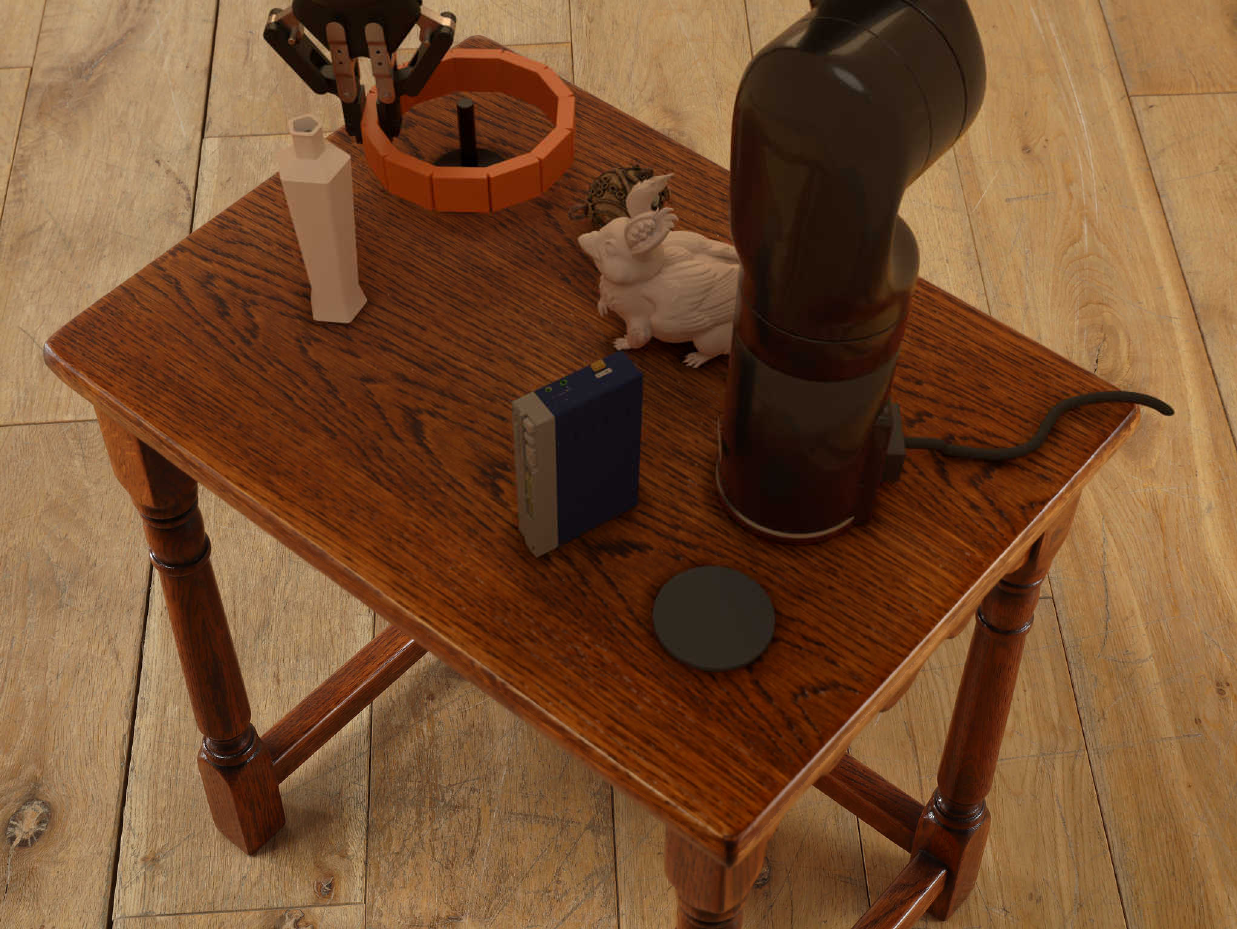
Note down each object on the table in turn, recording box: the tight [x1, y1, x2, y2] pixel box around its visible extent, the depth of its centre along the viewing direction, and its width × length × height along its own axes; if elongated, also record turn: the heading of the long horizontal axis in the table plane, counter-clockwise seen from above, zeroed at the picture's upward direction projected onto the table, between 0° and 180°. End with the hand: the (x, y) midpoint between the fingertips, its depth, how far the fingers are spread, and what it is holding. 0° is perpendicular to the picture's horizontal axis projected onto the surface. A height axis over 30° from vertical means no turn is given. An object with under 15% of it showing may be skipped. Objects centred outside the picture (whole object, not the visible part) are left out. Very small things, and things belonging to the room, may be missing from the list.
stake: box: [432, 97, 507, 168], centre depth 106 cm, size 6×6×7 cm
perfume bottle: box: [276, 113, 368, 324], centre depth 95 cm, size 5×4×15 cm
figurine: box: [577, 172, 740, 369], centre depth 94 cm, size 8×15×13 cm, turn 95°
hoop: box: [361, 48, 577, 213], centre depth 105 cm, size 15×15×3 cm
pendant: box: [567, 162, 672, 231], centre depth 104 cm, size 5×8×5 cm, turn 112°
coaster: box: [652, 565, 776, 673], centre depth 85 cm, size 7×7×1 cm
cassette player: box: [510, 349, 644, 559], centre depth 85 cm, size 7×2×12 cm, turn 124°
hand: (376, 136), depth 106 cm, fingers closed on hoop, 1 cm apart
